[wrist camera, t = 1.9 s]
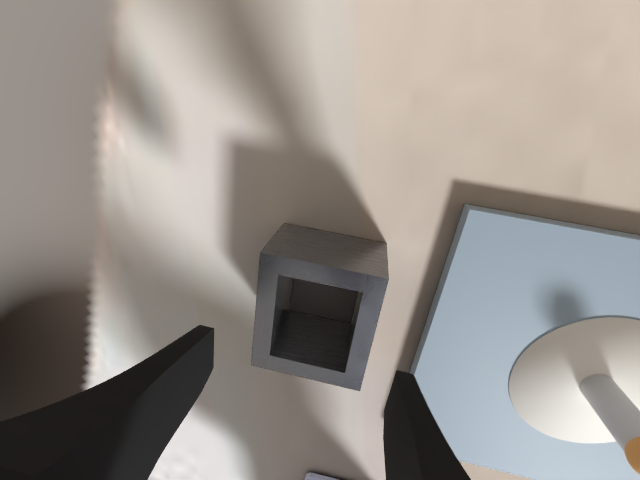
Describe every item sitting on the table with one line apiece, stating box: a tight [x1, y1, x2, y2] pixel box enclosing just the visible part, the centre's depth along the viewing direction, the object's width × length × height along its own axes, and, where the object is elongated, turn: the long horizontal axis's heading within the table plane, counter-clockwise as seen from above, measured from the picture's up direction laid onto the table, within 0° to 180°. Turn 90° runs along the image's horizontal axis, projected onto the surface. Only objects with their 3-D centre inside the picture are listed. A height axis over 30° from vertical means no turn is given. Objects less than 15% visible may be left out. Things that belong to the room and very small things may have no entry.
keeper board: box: [409, 204, 640, 480], centre depth 16 cm, size 16×18×6 cm
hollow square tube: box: [251, 223, 389, 391], centre depth 17 cm, size 6×6×4 cm
